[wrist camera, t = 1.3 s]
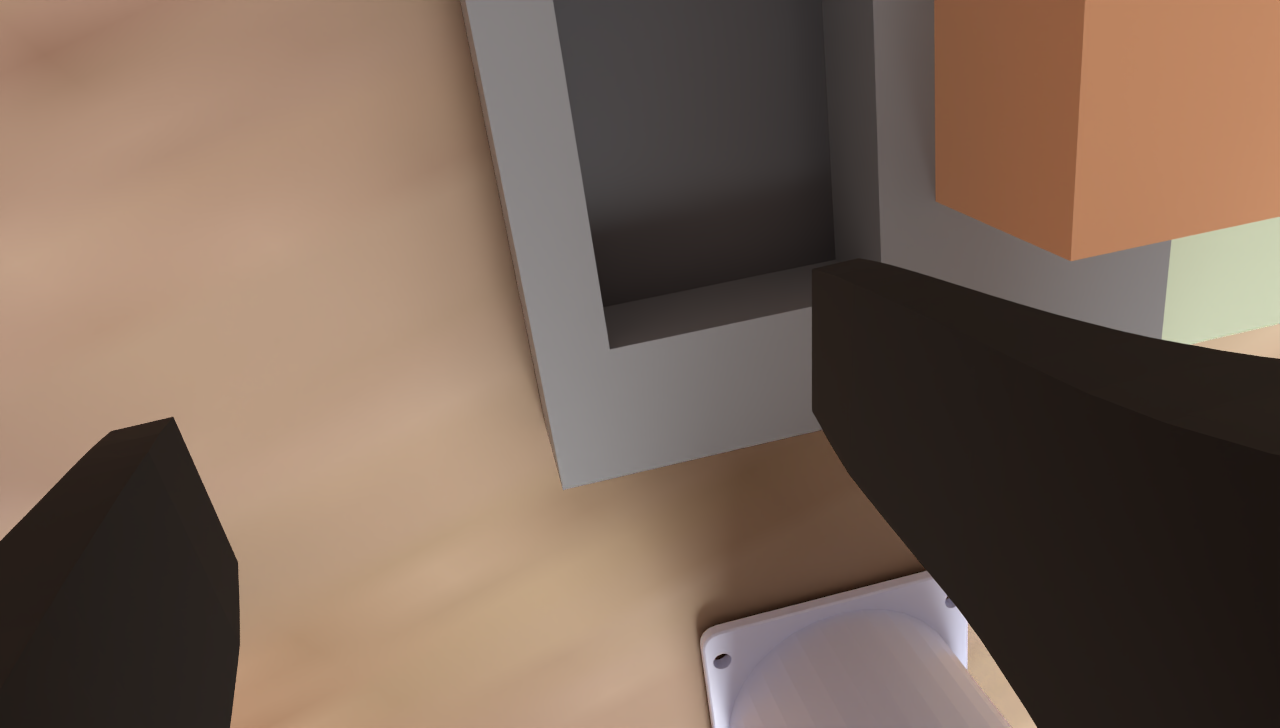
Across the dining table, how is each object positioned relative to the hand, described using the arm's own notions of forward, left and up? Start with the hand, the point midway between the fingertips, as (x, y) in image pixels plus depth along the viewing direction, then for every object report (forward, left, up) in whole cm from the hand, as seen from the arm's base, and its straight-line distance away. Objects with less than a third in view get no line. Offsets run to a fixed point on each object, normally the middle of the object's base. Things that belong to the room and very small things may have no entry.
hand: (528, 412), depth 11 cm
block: (+1, -11, -8) cm, 14 cm away
